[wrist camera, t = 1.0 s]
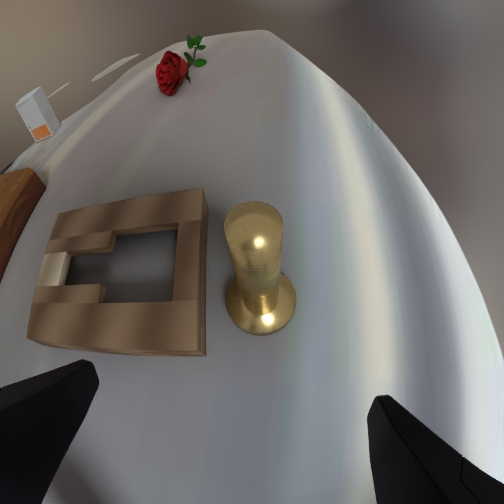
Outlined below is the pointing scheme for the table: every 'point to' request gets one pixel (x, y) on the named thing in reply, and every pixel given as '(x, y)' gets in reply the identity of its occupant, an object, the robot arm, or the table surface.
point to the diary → (16, 208)
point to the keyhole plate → (93, 295)
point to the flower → (177, 67)
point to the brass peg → (257, 270)
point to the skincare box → (38, 114)
